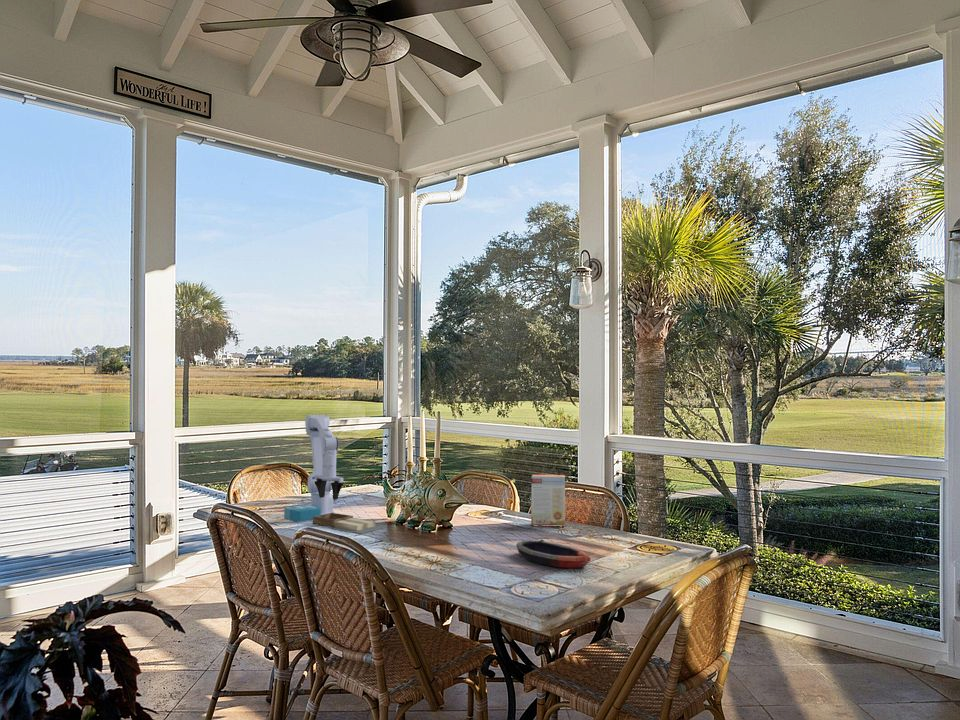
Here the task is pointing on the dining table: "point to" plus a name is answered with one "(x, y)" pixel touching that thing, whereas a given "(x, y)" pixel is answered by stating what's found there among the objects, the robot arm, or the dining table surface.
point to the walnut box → (329, 519)
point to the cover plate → (355, 524)
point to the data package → (301, 512)
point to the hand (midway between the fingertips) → (328, 498)
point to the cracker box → (548, 500)
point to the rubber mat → (362, 529)
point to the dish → (552, 554)
